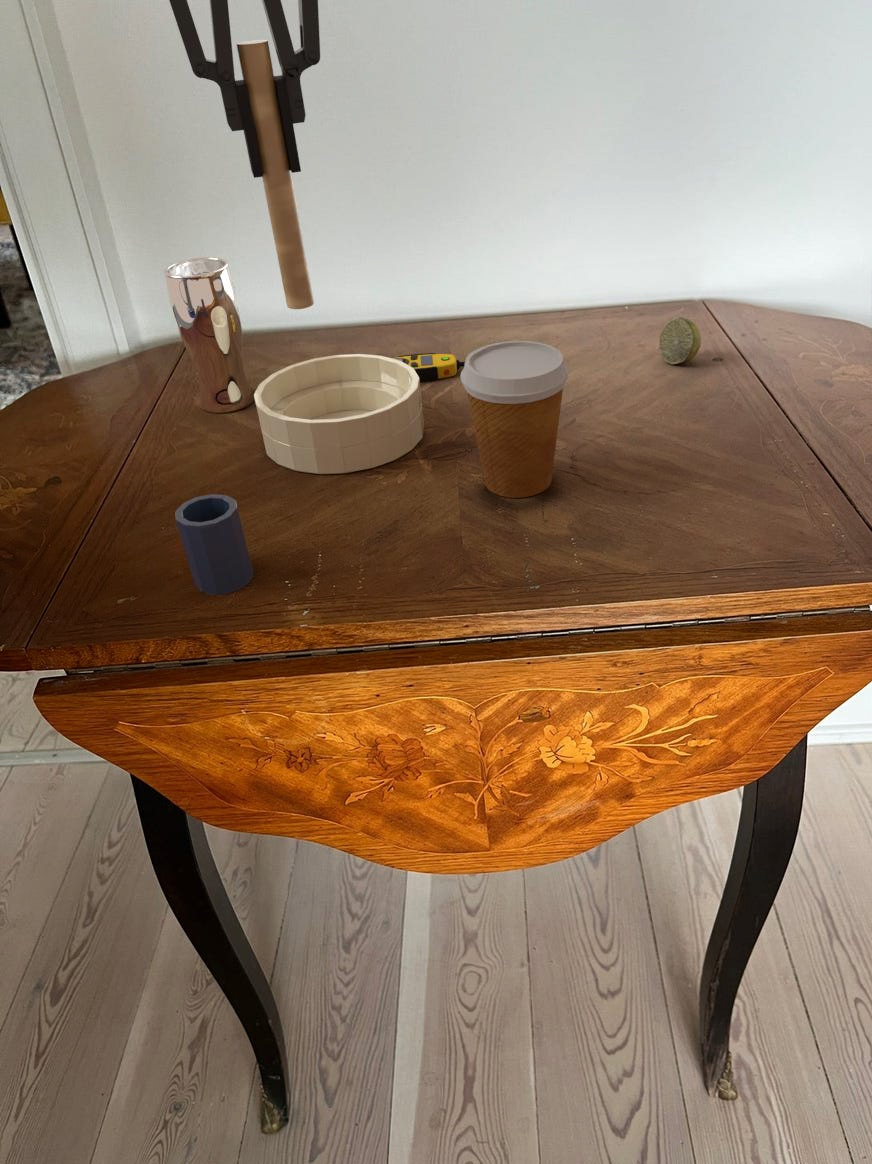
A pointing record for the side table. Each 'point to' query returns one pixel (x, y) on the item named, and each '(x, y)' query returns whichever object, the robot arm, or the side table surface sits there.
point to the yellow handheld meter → (432, 365)
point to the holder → (214, 543)
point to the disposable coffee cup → (516, 413)
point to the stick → (276, 171)
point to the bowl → (340, 413)
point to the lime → (679, 341)
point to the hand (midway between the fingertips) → (276, 170)
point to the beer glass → (210, 330)
